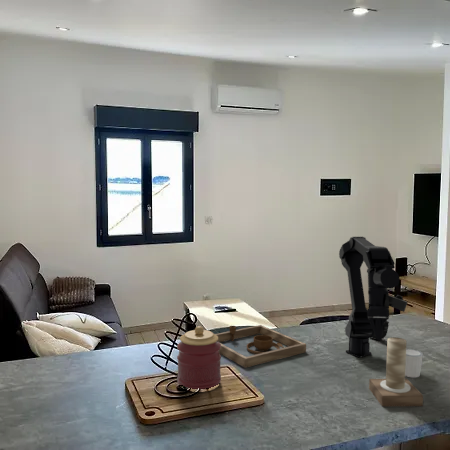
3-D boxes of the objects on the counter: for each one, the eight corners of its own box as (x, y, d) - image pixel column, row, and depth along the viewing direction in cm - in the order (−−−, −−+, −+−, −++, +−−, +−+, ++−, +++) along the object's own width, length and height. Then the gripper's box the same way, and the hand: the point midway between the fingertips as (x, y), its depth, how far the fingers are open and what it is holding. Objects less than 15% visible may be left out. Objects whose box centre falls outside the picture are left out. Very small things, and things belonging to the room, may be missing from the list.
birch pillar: (384, 387, 133) (386, 341, 132) (387, 380, 138) (388, 336, 137) (403, 390, 131) (405, 344, 130) (405, 383, 136) (407, 338, 134)
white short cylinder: (424, 379, 147) (425, 357, 146) (400, 377, 148) (401, 355, 148) (419, 370, 154) (420, 349, 153) (397, 368, 155) (398, 347, 154)
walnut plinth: (369, 388, 140) (369, 377, 140) (406, 388, 140) (406, 377, 140) (382, 406, 129) (382, 394, 129) (422, 406, 129) (423, 394, 129)
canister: (226, 378, 147) (227, 322, 145) (211, 396, 134) (212, 335, 133) (187, 373, 151) (187, 318, 149) (169, 390, 139) (169, 330, 137)
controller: (381, 343, 179) (382, 317, 178) (359, 334, 190) (360, 309, 189) (390, 342, 180) (391, 316, 179) (367, 332, 192) (368, 308, 191)
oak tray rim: (203, 344, 177) (203, 336, 177) (260, 332, 192) (260, 324, 191) (245, 367, 155) (245, 358, 155) (306, 352, 170) (306, 343, 169)
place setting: (245, 359, 164) (246, 343, 163) (226, 341, 183) (226, 326, 182) (292, 353, 170) (292, 337, 169) (268, 336, 188) (268, 321, 188)
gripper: (406, 288, 139) (408, 343, 137) (403, 286, 157) (405, 335, 155) (366, 288, 142) (368, 341, 141) (368, 286, 160) (369, 333, 159)
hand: (379, 338), depth 149 cm, fingers open, 9 cm apart
